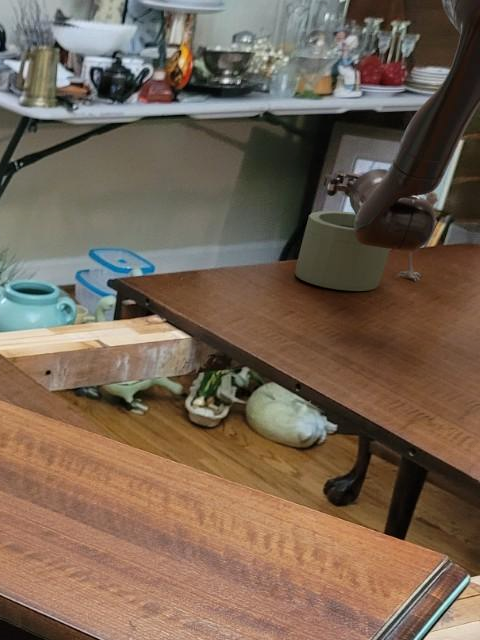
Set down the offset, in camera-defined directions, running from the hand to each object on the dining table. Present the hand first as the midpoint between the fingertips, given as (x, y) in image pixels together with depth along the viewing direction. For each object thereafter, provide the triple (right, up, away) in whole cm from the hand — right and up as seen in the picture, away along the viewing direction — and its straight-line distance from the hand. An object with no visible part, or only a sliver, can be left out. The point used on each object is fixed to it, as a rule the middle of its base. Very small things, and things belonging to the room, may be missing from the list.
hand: (365, 179), depth 185 cm
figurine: (+13, -13, +12) cm, 22 cm away
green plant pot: (-1, -14, +9) cm, 17 cm away
